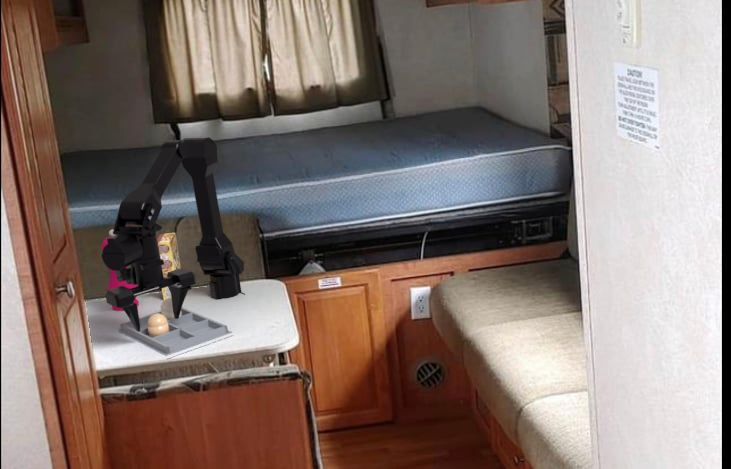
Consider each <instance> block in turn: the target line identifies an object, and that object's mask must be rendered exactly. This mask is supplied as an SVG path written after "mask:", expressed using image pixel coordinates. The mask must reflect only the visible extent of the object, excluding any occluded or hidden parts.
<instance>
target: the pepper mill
mask: <svg viewBox="0 0 731 469" xmlns="http://www.w3.org/2000/svg"><path fill="white" fill-rule="evenodd" d="M113 230H114V228H112V229H110V230H109V232H108V234H109V236H107V237H106V238H105V239H103V241H102V243H101V249H102V251H103V249H104V247H105V246H106V245H107V244H108V242H107V238H109V237H114V236H116V235H114V234H113ZM126 268H127V269H129V266H127V267H126ZM109 271H110V276H109V282H108V285H107V291H108V290H110V289H113V288H116V287H120V286H124V287H126V288H129V289H131V288H134V287H137V285H133V284H128V285H127V282H126V281H123V282H118V280H117V277H116V271H114V270H111V269H109ZM137 297H138V296H136V297H135V300H134V302H133V303H135V304H137V307H138V306H139V305H140V303H139V300H138V299H137ZM111 309H112V311H114V312H125V311H124V310H123V309H121V308H117V307H115V306H113V305H111Z"/></svg>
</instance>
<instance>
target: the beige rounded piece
mask: <svg viewBox="0 0 731 469" xmlns="http://www.w3.org/2000/svg"><path fill="white" fill-rule="evenodd" d="M156 313H157V312H156ZM152 314H153V315H151V314H150V315H151V316H150V317H149V319H148V321H147V327H148V333H149V337H151V338H153V337H156V336H159V335H162V334H165V333H168V332H169V326H168V320H167V318H166V317H165V316H164V315H162V314H159V313H157V314H154V313H152Z"/></svg>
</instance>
